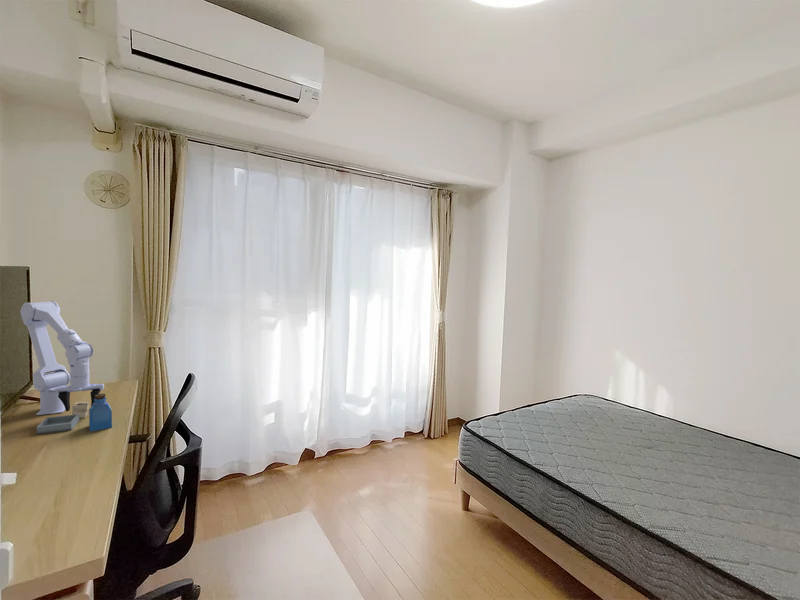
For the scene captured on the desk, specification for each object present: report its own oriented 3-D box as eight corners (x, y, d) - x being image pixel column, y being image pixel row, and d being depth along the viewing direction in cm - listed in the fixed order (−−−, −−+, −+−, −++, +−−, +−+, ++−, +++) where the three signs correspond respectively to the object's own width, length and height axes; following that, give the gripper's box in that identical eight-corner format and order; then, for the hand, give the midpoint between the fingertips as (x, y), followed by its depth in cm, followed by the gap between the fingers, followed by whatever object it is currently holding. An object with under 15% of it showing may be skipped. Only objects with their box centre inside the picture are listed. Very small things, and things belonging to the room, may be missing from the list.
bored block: (75, 415, 148) (75, 402, 148) (88, 414, 150) (88, 401, 150) (72, 419, 145) (72, 406, 144) (85, 417, 147) (85, 404, 146)
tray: (46, 424, 139) (46, 417, 139) (79, 420, 144) (79, 414, 143) (36, 434, 131) (36, 427, 131) (71, 430, 135) (71, 423, 135)
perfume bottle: (90, 431, 135) (89, 399, 134) (89, 425, 140) (89, 394, 139) (111, 427, 139) (111, 395, 138) (110, 422, 144) (110, 391, 143)
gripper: (51, 379, 139) (52, 415, 140) (100, 376, 146) (101, 410, 147) (58, 374, 146) (59, 408, 147) (105, 371, 152) (105, 404, 153)
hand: (80, 409), depth 147 cm, fingers open, 7 cm apart
